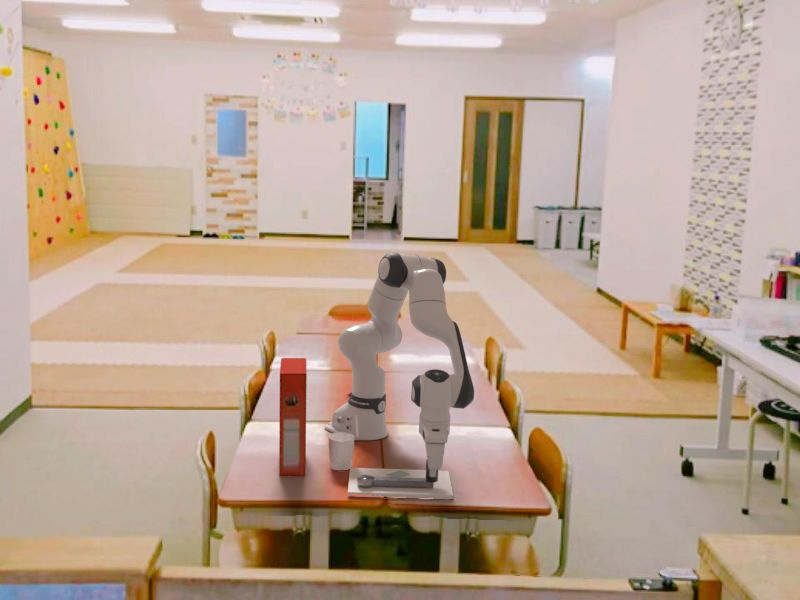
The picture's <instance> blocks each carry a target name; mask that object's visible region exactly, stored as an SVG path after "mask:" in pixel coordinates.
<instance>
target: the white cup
mask: <svg viewBox="0 0 800 600" xmlns="http://www.w3.org/2000/svg"><path fill="white" fill-rule="evenodd" d="M354 438H355V437H354V435H352V434H350V433H344V432H338V433H333V432H332V433H331V434H329V436H328V452H329V453H328V454H329V455H328V458H329V467H330V469H331V468H332V469H334V470H333V471H335V470H346V469H350V468H351V467H352V468H353V459H354V450H355V449H354V448H355V440H354ZM332 469H331V470H332Z"/></svg>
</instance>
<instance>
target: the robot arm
mask: <svg viewBox="0 0 800 600" xmlns="http://www.w3.org/2000/svg"><path fill="white" fill-rule="evenodd" d="M377 269H378V272H377V273H378V276H377V278H376V280H375V283H374V285H373V288H372V289H371V293H370V295H369V298H368V300H367V302H366V307H367V309H368V311H369V313H370V315H371V316H370V319H369V320H368V321H367V322H365V323H360V324H355V325H352V326H349V327H348V328H346V329H344V330H342V331H341V332H340V334H339V336H338V339H337V345H338V350H339V351H340V353H341V354H342V355H343V356H344V357H345V358H346V359H347V360H348V362H349V364H350V367H351V372H352V392H350V393H347V394H346V397H345V398H346V399H347V398H348V400H347V402H346V403H345V404H343V405H341V406H340V407H338V408H337V409H336V410H334V412H333V414H332V417H331V421H330V422H328V423H326V424H325V426H324V429H325V430H326V431H328V432H331V433H332V434H333V433H338V432H344V433H350V434H352V435H354V437H355V438H354V441H376V440H381V439H384V438H386V437H387V436H388V435H389V431H388V428H387V422H386V405H387V394H386V376H387V375H386V372H385V370H384V369H383V368H382V367H381V366H379V365H378V362H377V355H378V354H382V353H387V352H390V351H392V350H394V349H395V348H396V347H398V346H400V344H401V342H402V340H403V332H402V329H401V326H400V325H399V324H398V322H399V321H398V320H399V315H400V313H401V311H402V307H403V305H404V302H405V300H406V297H407V295H408V293H409V296H408V297H409V298H408V301H409V302H408V304H409V305H408V307H409V317H410V319H409V320H410V322H411V324H412V326H413V327H414V328H415V329H416V330H417V331H418V332H420V333H421V334H423V335H425V336H428V337H429V338H433V339H435V340H438V341H440V342H442V343H443V344H444V345H445V346H446V347H447V348H448V351H449V355H450V360H451V365H452V370H453V374H449V373H448V372H447V371H445V370H443V369H435V368H434V369H428V370H426V371H425V372H424V373H423V374H420V375H419V374H418V375H417V376H416V377H415V378H414V379H413V380H412V381H411V395H410V398H411V401H412V403H414V404H415V405H416V406H417V407H419V408H420V413H419V418H418V419H419V420H418V421H419V422H418V433H419V434H420V435H421V437H422V438H423V441H424V443H425V453H426V460H427V461H428V468H429V469H430V473H429V474H430V477H435V476H436V470H439V471H441V470H442V467H443V461H444V455H445V449H446V444H447V443H448V439H449V435H450V432H451V431H450V430H451V413H450V410H451V409H450V408H452V409H461V410H464V409H465V408H467V407H469V405H470V404H471V403H472V402H473V401H474V399H475V387H474V384H473V380H472V375H471V374H470V370H469V369H470V368H469V365H468V360H467V355H466V352H465V347H464V342H463V339H462V335H461V331H460V328H459V325H458V323H457V322H456V321H454V320H452V318H451V317H450V316H449V313H448V311H447V301H446V291H445V287H444V286H445V285H444V284H445V282H446V279H447V269H446V265H445V263H444V262H443V261H442V260H440V259H437V258H435V257H428V256H425V255H420V254H415V253H414V254H411V253H410V254H407V253H398V252H390V253H386V254H385V255H383V257H382V258H381V260H380V261H379V264H378V268H377Z"/></svg>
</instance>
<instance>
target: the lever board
mask: <svg viewBox="0 0 800 600" xmlns="http://www.w3.org/2000/svg"><path fill="white" fill-rule="evenodd" d="M360 475H371V476H373V477H402V478H426V469H405V468H404V469H401V468H399V469H398V468H397V469H396V468H372V467H371V468H369V467H367V468H365V467H352V468H350V470H349V476H348V486H347V495H348V494H349V495H353V494H359V495H372V496H375V495H376V496H379V495H381V496H386V497H393V496H394V497H406V498H433V499H453V500H454V492H453V489H452V482H451V477H450V473H449V470H438V481H437V482H434V483H433V488H430V487H397V486H372V487H360V486H358V485H357V477H358V476H360Z"/></svg>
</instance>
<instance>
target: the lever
mask: <svg viewBox="0 0 800 600" xmlns="http://www.w3.org/2000/svg"><path fill="white" fill-rule="evenodd" d="M425 470H426V478H402V477H373V476H371V475H360V476H358V477H357V485H358V486H360V487H372V486H397V487H430V488H433V483H434V482H437V481H438V470H436V476H435V477H430V474H429V473H430V469H429V468H428V461H427V459H426V461H425Z"/></svg>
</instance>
